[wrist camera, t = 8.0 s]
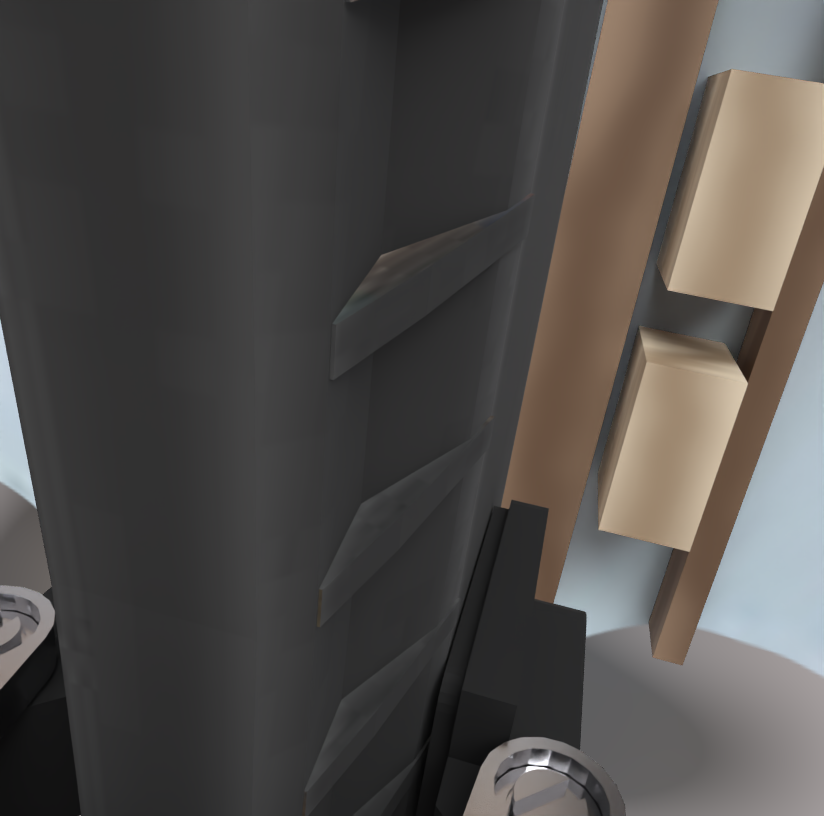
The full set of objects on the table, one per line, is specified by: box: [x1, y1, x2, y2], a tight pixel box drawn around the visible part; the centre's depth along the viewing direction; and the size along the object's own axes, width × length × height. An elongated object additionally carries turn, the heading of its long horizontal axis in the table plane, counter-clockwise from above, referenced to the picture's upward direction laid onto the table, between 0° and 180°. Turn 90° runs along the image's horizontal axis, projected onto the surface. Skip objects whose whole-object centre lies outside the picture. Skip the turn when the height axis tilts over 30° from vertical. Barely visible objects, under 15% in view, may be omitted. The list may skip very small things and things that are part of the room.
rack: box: [501, 0, 824, 665], centre depth 35 cm, size 18×32×3 cm, turn 171°
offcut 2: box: [598, 326, 748, 552], centre depth 35 cm, size 4×8×6 cm, turn 171°
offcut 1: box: [656, 69, 824, 311], centre depth 31 cm, size 4×8×6 cm, turn 171°
